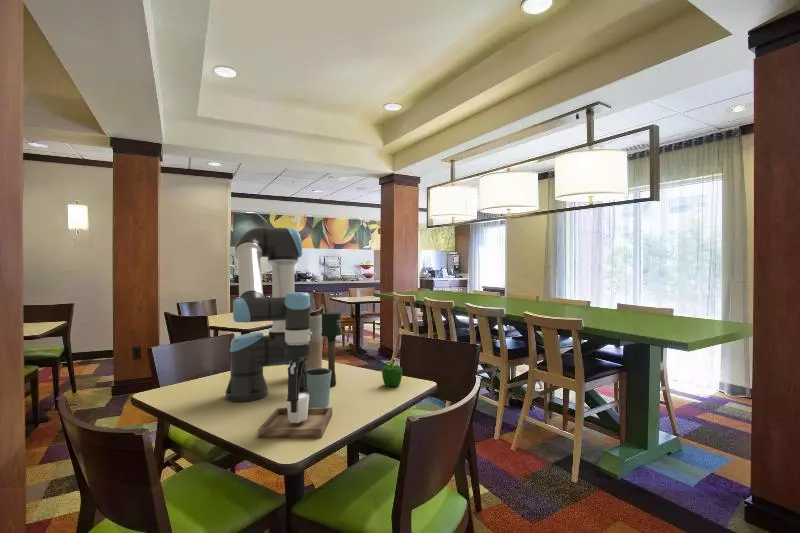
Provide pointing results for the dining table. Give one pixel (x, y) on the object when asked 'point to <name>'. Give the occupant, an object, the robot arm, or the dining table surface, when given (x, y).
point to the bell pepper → (391, 374)
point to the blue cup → (318, 387)
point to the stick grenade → (331, 338)
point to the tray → (296, 424)
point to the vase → (315, 342)
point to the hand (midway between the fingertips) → (297, 417)
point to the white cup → (303, 406)
